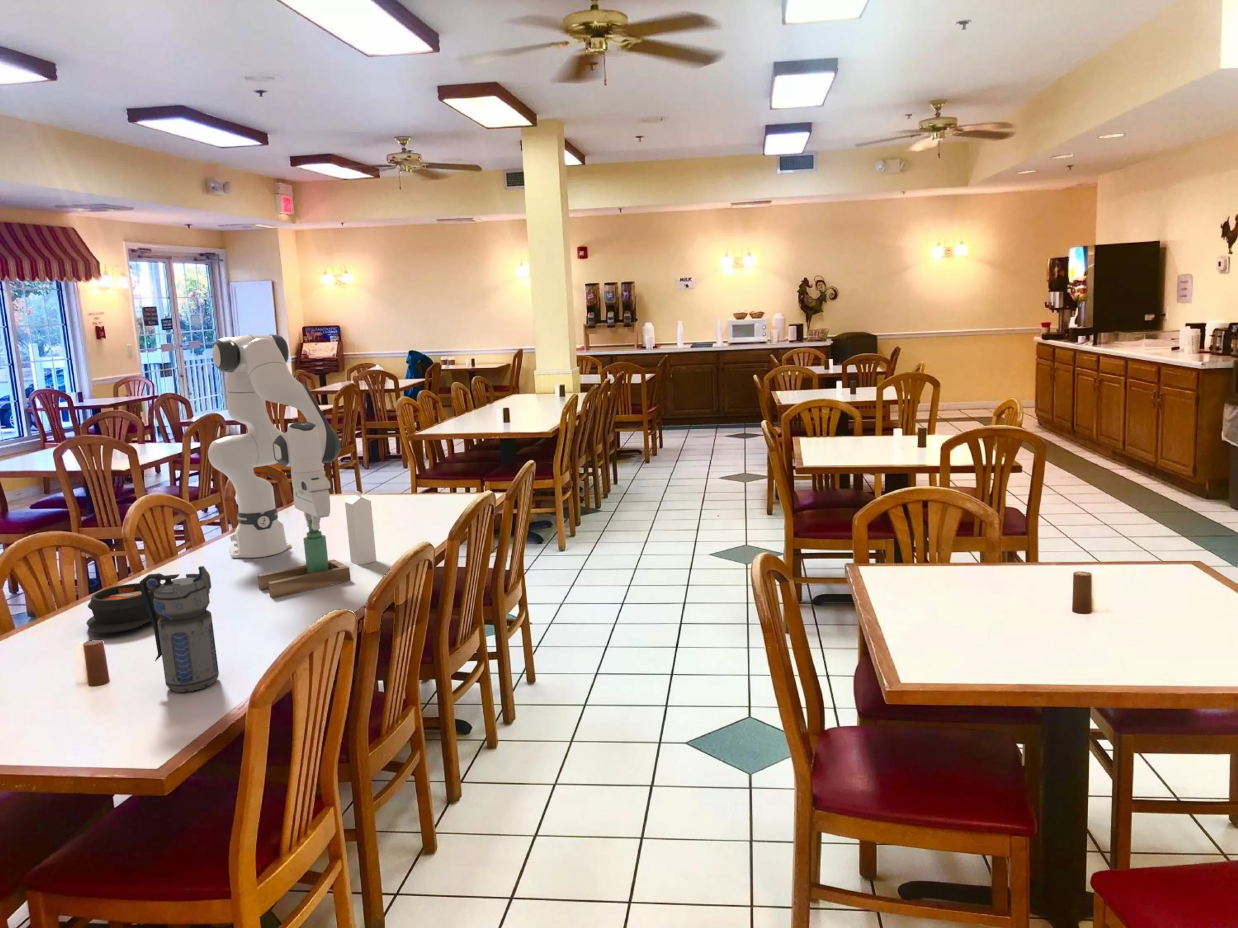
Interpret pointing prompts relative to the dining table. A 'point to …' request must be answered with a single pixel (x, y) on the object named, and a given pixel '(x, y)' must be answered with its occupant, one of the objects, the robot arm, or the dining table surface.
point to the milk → (360, 529)
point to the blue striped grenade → (183, 628)
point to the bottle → (315, 551)
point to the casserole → (118, 609)
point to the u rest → (302, 579)
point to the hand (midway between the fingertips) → (313, 528)
